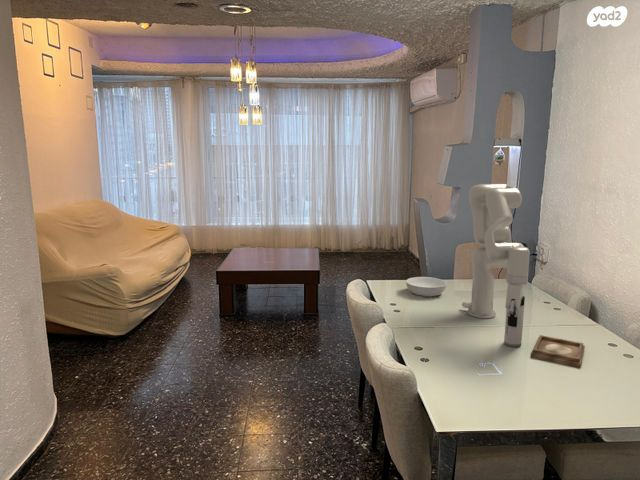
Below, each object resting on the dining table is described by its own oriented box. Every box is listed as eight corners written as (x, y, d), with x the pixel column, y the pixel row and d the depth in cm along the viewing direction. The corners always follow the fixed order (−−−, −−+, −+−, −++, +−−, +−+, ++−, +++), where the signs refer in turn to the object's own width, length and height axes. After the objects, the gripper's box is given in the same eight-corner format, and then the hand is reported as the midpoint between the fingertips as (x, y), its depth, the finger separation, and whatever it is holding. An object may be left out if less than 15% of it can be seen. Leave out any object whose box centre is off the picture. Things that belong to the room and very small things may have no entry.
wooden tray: (530, 357, 169) (531, 350, 168) (538, 340, 183) (538, 333, 183) (580, 367, 160) (581, 360, 160) (584, 349, 175) (585, 342, 174)
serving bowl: (450, 300, 234) (451, 287, 233) (409, 300, 235) (409, 287, 233) (440, 288, 255) (441, 276, 253) (402, 288, 255) (403, 276, 254)
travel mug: (520, 341, 182) (524, 293, 179) (521, 348, 176) (525, 298, 173) (503, 339, 184) (507, 291, 181) (504, 346, 178) (507, 296, 175)
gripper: (511, 272, 184) (508, 315, 188) (501, 282, 170) (498, 328, 174) (531, 275, 180) (528, 318, 184) (523, 285, 166) (520, 332, 170)
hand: (514, 323), depth 179 cm, fingers closed on travel mug, 6 cm apart
